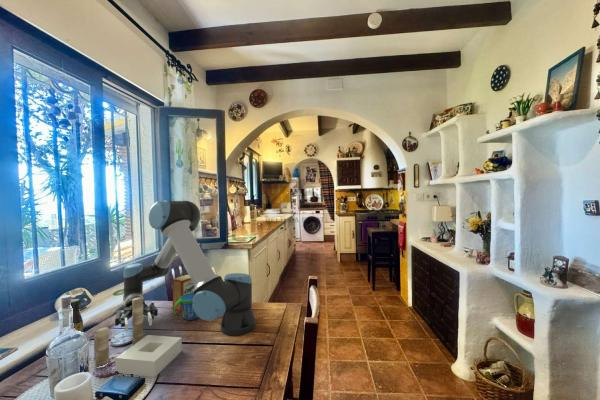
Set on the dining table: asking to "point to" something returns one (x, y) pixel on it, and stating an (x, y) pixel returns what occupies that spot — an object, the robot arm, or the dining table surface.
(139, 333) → the tall dowel
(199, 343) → the dining table surface
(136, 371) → the hole block
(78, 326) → the sauce bottle
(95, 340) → the short dowel
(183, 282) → the baking soda box
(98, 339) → the medium dowel
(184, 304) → the snack cup
